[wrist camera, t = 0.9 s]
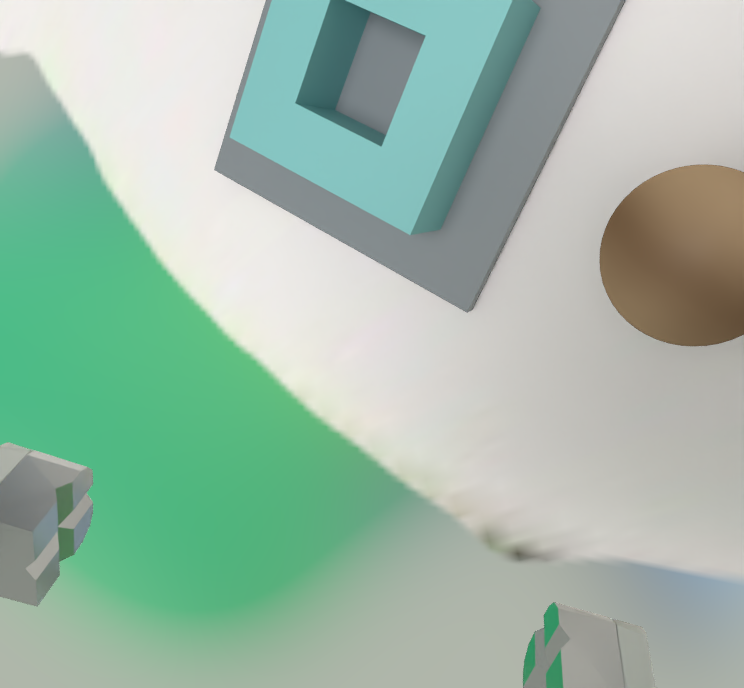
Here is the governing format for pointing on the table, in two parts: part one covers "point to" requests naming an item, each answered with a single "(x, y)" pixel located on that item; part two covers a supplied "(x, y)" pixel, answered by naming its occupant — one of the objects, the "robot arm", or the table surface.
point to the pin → (679, 256)
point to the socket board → (488, 172)
